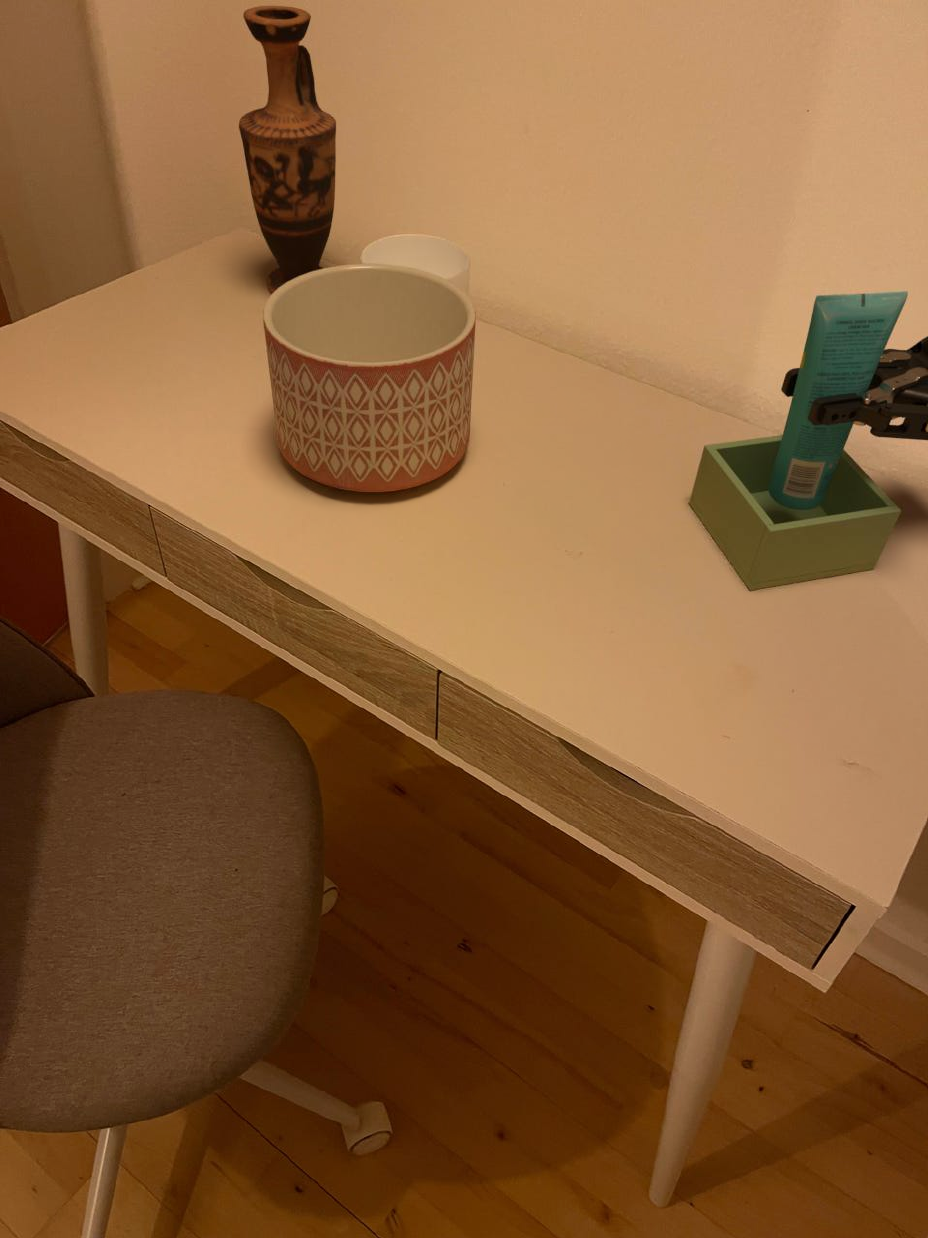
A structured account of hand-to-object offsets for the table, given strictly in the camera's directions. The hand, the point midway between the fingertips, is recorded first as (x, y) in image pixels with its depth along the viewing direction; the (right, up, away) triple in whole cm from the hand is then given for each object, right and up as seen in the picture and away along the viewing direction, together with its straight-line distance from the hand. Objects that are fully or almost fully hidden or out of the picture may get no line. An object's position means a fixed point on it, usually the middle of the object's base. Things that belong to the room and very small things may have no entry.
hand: (799, 397), depth 77 cm
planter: (-37, -1, +19) cm, 41 cm away
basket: (+2, -10, +11) cm, 15 cm away
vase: (-48, +24, +43) cm, 69 cm away
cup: (-33, +12, +31) cm, 47 cm away
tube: (+2, -7, +8) cm, 11 cm away
